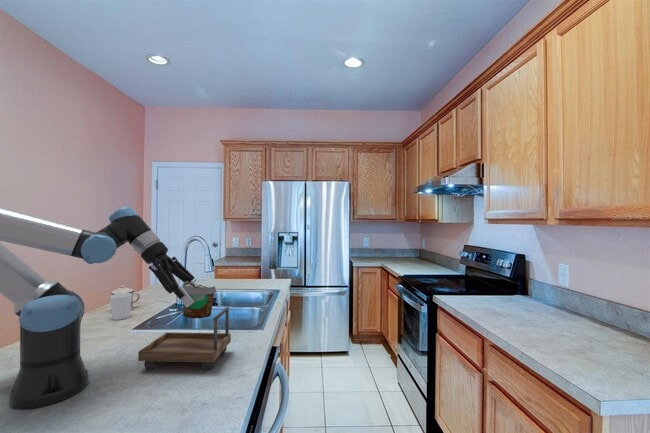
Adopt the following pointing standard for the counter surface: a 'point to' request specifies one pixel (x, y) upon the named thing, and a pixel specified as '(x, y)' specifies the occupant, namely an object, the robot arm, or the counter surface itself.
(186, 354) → the dolly
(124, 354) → the counter surface
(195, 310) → the food container
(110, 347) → the counter surface
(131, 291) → the teacup with lid
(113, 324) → the counter surface
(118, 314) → the white cup
